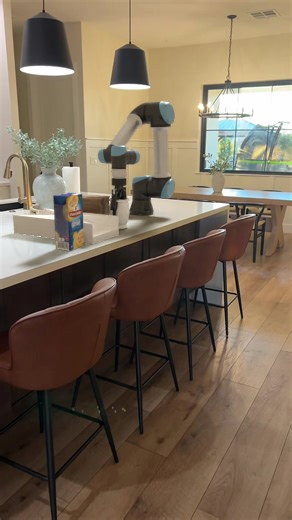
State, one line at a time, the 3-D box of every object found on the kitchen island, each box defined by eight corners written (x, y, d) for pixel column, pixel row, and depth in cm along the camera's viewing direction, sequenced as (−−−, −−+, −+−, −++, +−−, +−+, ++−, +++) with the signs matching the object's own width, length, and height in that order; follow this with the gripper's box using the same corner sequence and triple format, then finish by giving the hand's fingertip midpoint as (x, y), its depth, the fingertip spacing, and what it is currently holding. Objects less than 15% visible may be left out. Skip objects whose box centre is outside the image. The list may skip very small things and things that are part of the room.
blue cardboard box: (83, 245, 176) (82, 193, 170) (69, 251, 166) (67, 196, 160) (70, 243, 178) (68, 192, 172) (55, 249, 168) (53, 195, 162)
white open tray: (118, 235, 196) (118, 216, 194) (92, 245, 177) (92, 223, 175) (44, 226, 216) (43, 208, 213) (14, 234, 197) (12, 214, 194)
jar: (109, 225, 217) (109, 197, 213) (128, 225, 218) (128, 197, 213) (109, 229, 207) (108, 200, 202) (129, 229, 207) (129, 200, 203)
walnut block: (85, 222, 224) (85, 194, 220) (110, 224, 220) (109, 196, 216) (73, 227, 211) (72, 197, 207) (98, 229, 207) (98, 199, 203)
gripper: (120, 175, 216) (120, 217, 223) (102, 179, 196) (103, 224, 202) (133, 176, 214) (133, 217, 220) (117, 179, 193) (117, 225, 199)
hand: (119, 221), depth 211 cm, fingers closed on jar, 10 cm apart
